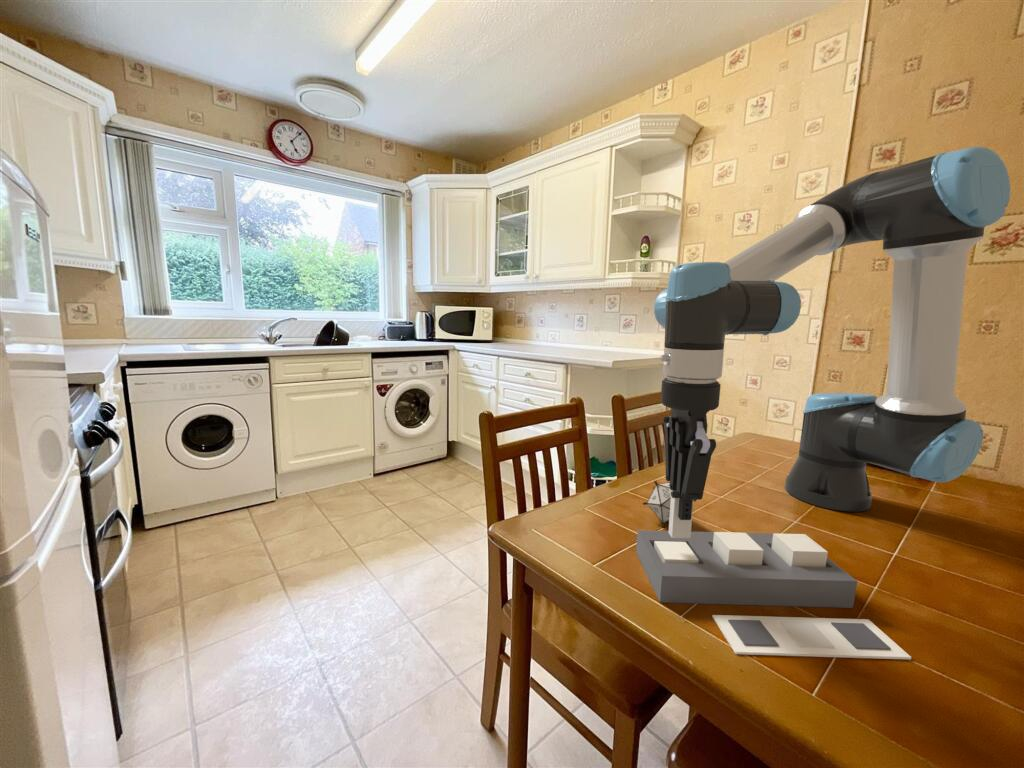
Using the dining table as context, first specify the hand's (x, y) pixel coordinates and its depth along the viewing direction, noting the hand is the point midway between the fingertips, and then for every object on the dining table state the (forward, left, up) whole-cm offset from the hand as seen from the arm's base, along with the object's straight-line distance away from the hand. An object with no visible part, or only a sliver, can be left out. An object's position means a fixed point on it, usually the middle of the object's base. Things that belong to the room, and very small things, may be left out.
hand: (679, 535), depth 62 cm
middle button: (-9, 0, -4) cm, 9 cm away
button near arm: (-18, 0, -4) cm, 18 cm away
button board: (-9, 0, -7) cm, 11 cm away
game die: (-5, -17, -7) cm, 19 cm away
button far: (0, 0, -5) cm, 5 cm away
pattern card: (-12, +12, -7) cm, 18 cm away
